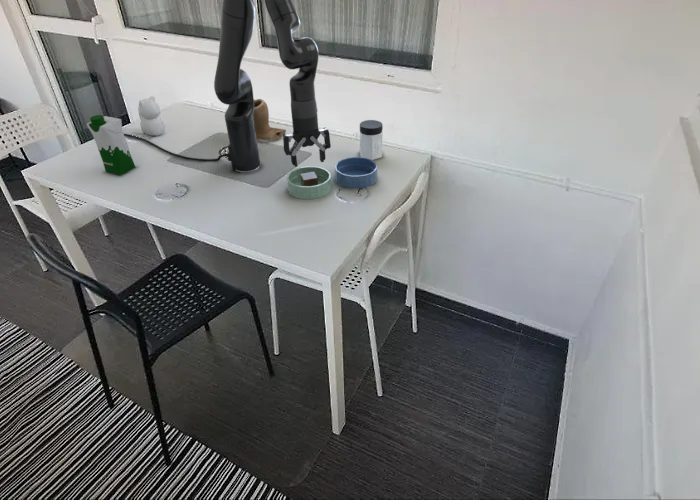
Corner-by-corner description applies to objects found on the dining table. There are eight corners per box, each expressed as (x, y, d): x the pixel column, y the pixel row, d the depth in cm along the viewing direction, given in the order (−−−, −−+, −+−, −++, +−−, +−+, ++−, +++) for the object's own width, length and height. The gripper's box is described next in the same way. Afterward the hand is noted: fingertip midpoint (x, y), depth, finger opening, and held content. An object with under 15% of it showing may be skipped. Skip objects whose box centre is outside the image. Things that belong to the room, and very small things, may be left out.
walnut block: (304, 192, 145) (303, 180, 142) (301, 186, 149) (300, 173, 146) (318, 190, 146) (317, 177, 144) (314, 183, 150) (313, 171, 147)
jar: (367, 162, 163) (367, 130, 156) (354, 154, 169) (354, 123, 161) (386, 156, 167) (388, 124, 160) (374, 148, 173) (374, 117, 165)
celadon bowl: (285, 200, 143) (283, 186, 140) (291, 179, 154) (290, 166, 151) (329, 201, 142) (329, 187, 139) (332, 179, 153) (332, 166, 150)
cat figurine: (154, 140, 182) (143, 103, 173) (134, 133, 187) (123, 97, 178) (172, 132, 188) (162, 96, 179) (152, 126, 193) (142, 91, 184)
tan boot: (239, 140, 180) (232, 103, 171) (255, 129, 189) (250, 93, 180) (272, 146, 175) (267, 108, 166) (287, 135, 184) (283, 98, 175)
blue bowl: (334, 190, 148) (333, 176, 145) (336, 170, 159) (336, 157, 156) (377, 190, 147) (377, 176, 144) (376, 170, 158) (376, 157, 155)
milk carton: (102, 173, 160) (80, 117, 147) (122, 162, 166) (103, 108, 154) (120, 177, 157) (100, 121, 144) (140, 166, 163) (122, 112, 151)
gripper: (324, 105, 137) (327, 155, 147) (277, 112, 134) (284, 162, 143) (331, 113, 131) (333, 164, 141) (283, 120, 128) (289, 172, 138)
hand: (308, 163), depth 142 cm, fingers open, 8 cm apart
